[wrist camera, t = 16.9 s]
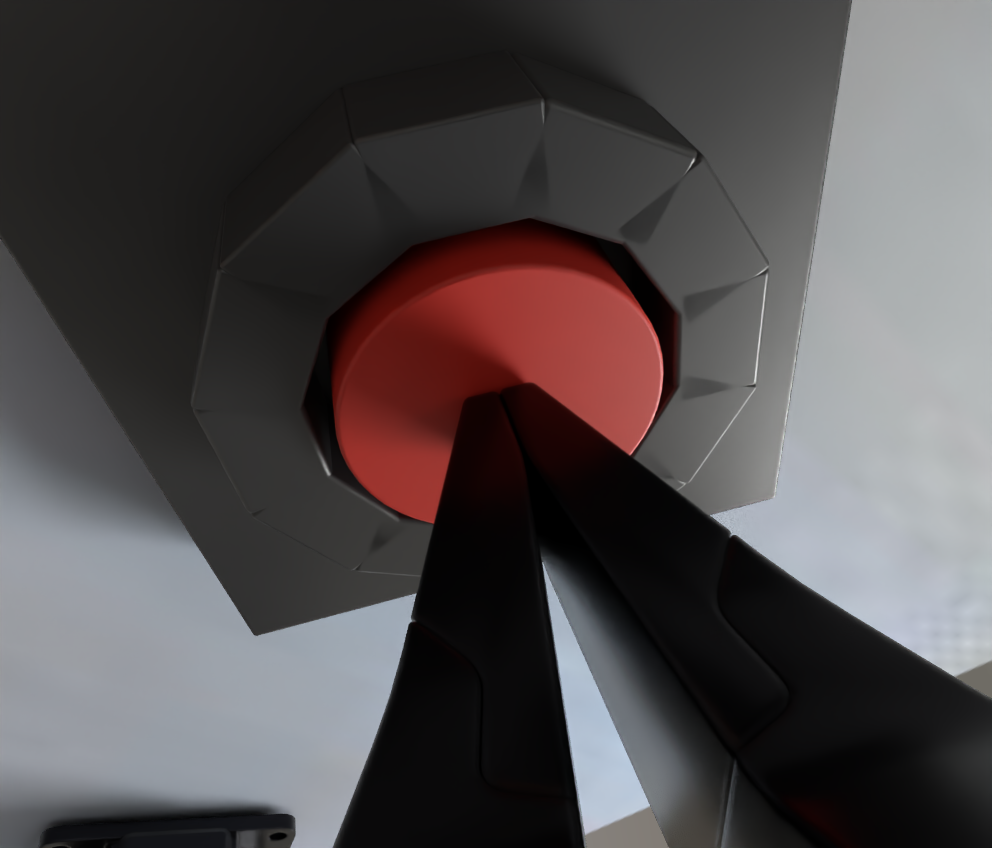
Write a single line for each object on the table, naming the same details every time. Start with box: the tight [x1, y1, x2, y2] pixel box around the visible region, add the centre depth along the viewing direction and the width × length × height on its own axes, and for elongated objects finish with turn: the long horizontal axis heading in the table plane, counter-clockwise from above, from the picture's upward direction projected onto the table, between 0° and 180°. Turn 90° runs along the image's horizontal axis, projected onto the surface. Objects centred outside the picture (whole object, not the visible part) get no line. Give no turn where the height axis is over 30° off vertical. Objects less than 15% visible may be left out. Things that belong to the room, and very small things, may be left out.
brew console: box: [0, 0, 852, 636], centre depth 11 cm, size 11×10×4 cm
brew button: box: [327, 218, 663, 524], centre depth 10 cm, size 4×4×2 cm
